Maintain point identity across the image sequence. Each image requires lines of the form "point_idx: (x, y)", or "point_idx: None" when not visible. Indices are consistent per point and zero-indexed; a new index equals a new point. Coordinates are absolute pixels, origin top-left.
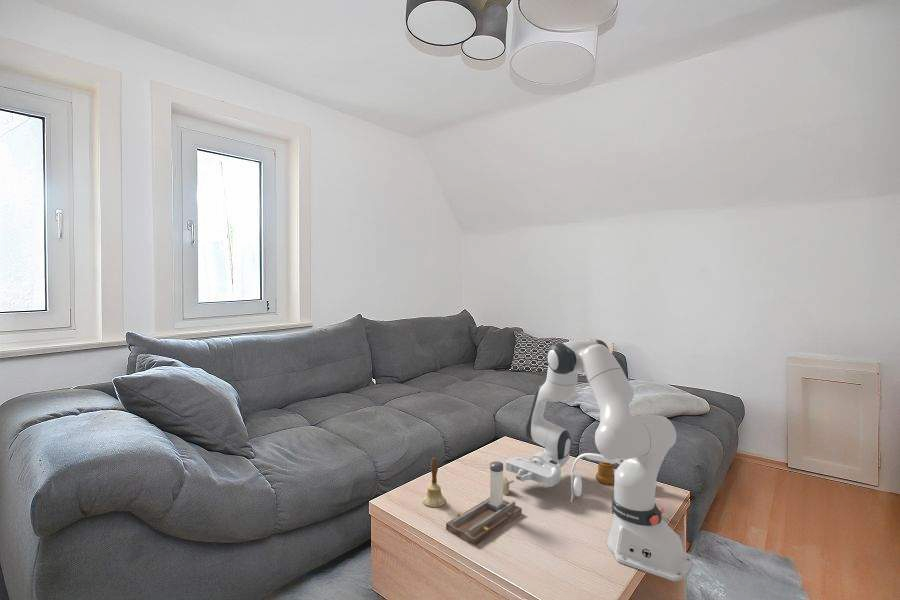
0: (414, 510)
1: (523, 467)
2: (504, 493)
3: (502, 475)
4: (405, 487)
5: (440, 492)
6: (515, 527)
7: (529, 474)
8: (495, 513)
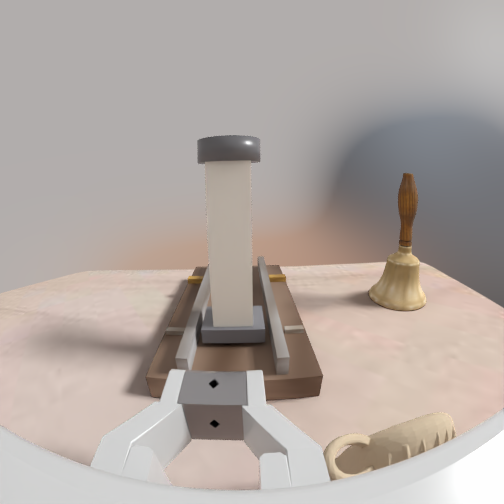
0: (373, 274)
1: (288, 497)
2: (338, 457)
3: (206, 194)
4: (465, 286)
5: (391, 274)
6: (142, 339)
7: (114, 429)
8: (200, 294)
